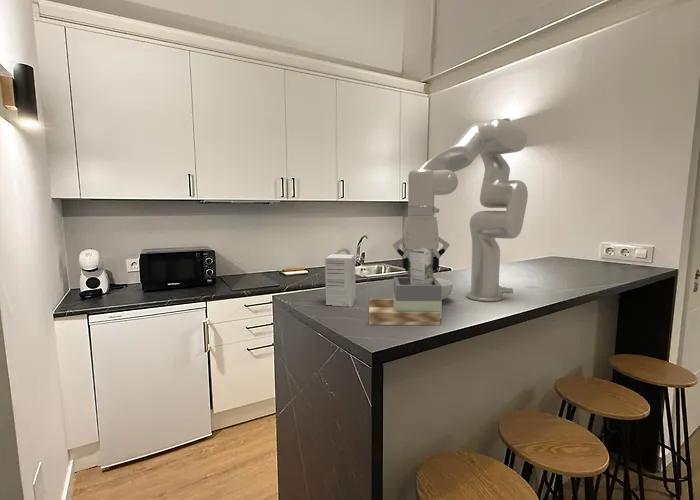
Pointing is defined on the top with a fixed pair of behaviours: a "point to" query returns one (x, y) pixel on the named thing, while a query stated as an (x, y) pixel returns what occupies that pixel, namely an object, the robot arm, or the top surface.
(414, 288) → the crate
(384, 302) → the bay
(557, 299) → the top surface
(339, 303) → the supplement box
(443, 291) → the cereal bowl
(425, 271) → the syrup box
